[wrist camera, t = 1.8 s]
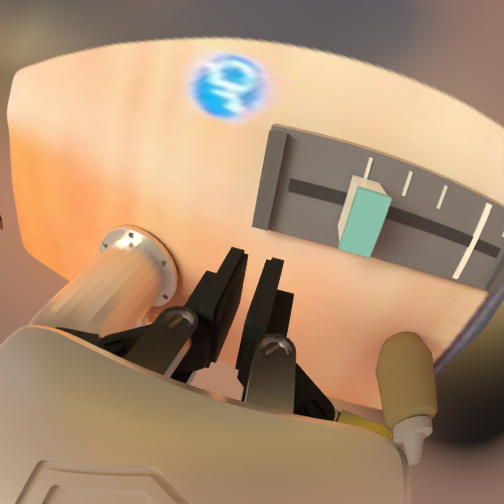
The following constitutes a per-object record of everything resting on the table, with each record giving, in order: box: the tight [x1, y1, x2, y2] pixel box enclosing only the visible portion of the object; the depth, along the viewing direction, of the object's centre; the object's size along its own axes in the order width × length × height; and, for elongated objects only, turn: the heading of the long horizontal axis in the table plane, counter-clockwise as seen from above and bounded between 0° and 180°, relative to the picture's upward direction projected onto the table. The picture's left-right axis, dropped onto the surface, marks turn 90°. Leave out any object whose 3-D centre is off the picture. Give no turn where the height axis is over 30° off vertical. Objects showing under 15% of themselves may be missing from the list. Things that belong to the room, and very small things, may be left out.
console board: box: [252, 124, 504, 295], centre depth 24 cm, size 10×30×3 cm, turn 80°
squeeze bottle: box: [376, 332, 437, 466], centre depth 27 cm, size 8×8×18 cm
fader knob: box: [338, 175, 392, 258], centre depth 22 cm, size 5×3×4 cm, turn 170°
